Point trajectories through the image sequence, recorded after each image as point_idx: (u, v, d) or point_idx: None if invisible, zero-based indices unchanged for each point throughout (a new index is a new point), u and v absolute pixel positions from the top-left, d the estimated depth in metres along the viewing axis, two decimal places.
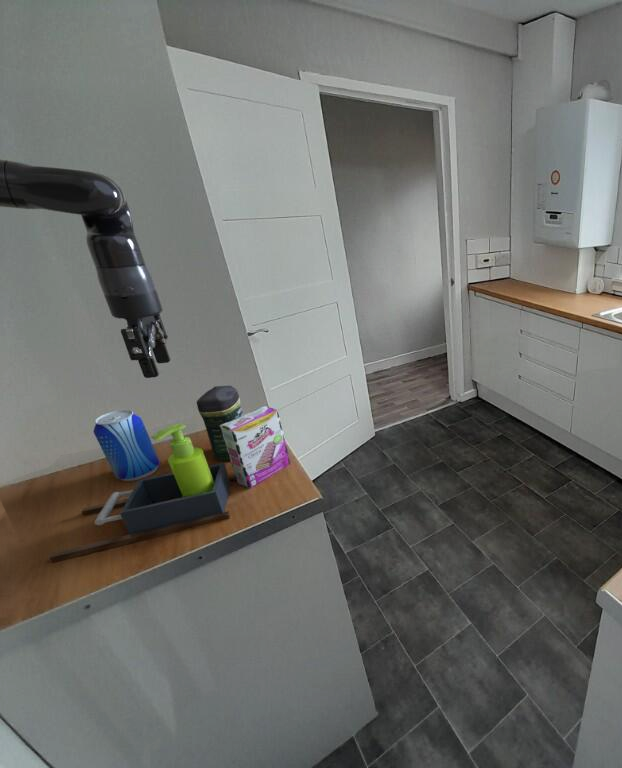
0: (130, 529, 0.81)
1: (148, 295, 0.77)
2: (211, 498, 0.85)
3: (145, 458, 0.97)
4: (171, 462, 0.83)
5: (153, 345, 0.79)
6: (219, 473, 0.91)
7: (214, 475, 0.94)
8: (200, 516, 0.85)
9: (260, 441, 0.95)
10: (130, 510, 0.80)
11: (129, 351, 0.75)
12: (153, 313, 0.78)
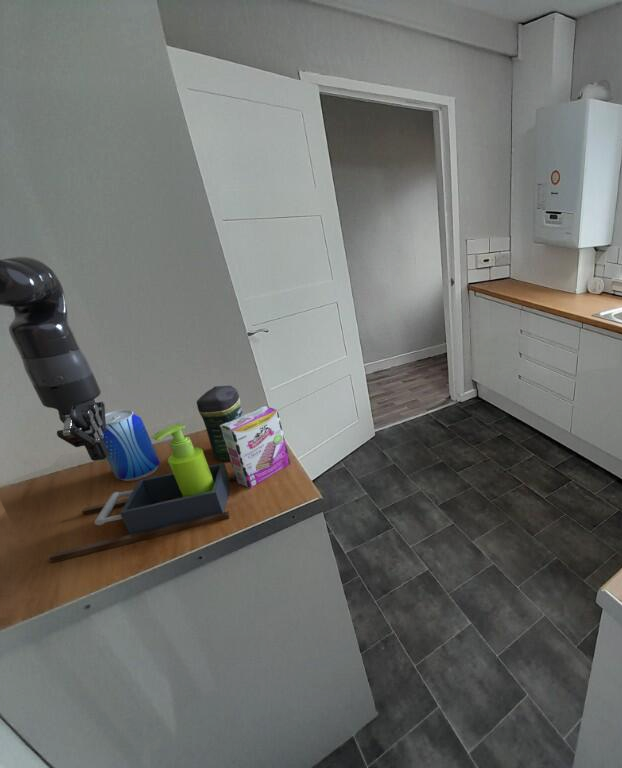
0: (130, 529, 0.81)
1: (82, 381, 0.72)
2: (211, 498, 0.85)
3: (145, 458, 0.97)
4: (171, 462, 0.83)
5: (96, 429, 0.76)
6: (219, 473, 0.91)
7: (214, 475, 0.94)
8: (200, 516, 0.85)
9: (260, 441, 0.95)
10: (130, 510, 0.80)
11: (73, 444, 0.73)
12: (89, 399, 0.73)
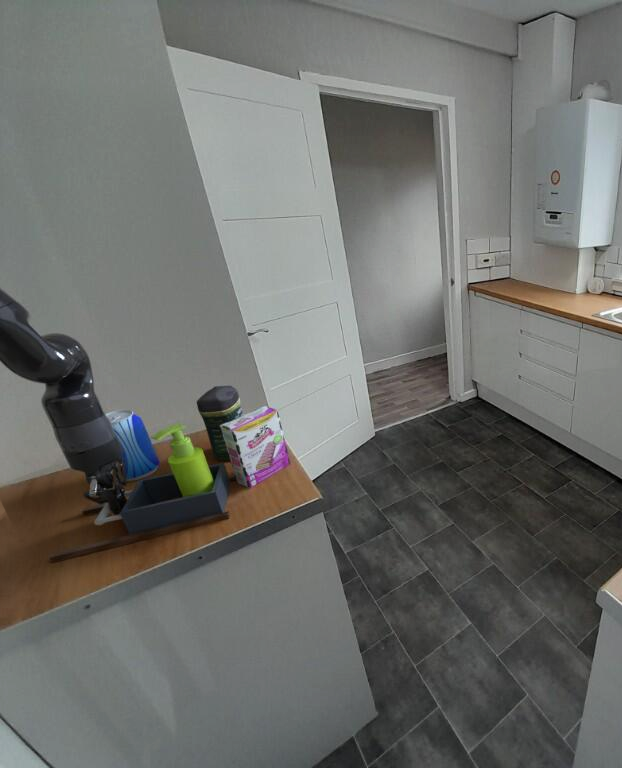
0: (130, 529, 0.81)
1: (106, 445, 0.77)
2: (211, 498, 0.85)
3: (145, 458, 0.97)
4: (171, 462, 0.83)
5: (119, 486, 0.81)
6: (219, 473, 0.91)
7: (214, 475, 0.94)
8: (200, 516, 0.85)
9: (260, 441, 0.95)
10: (130, 510, 0.80)
11: (97, 502, 0.78)
12: (113, 461, 0.78)
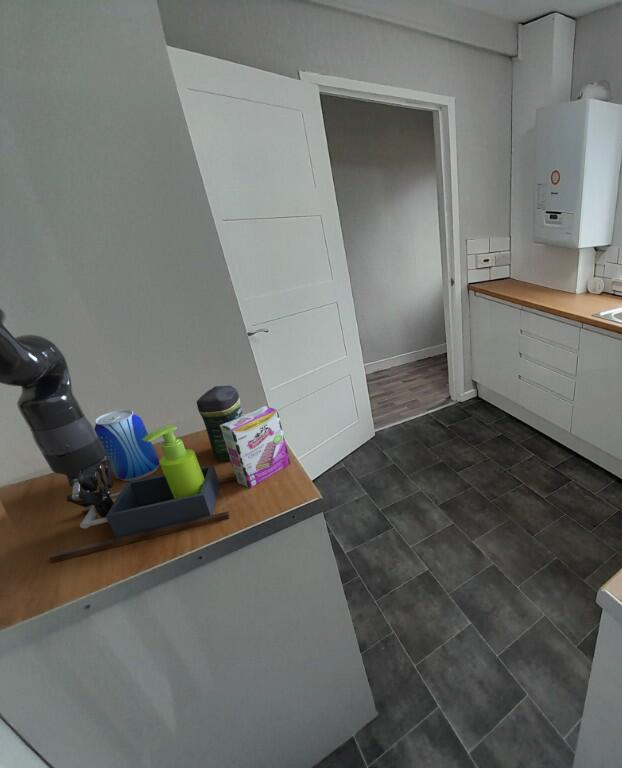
0: (116, 532, 0.80)
1: (87, 447, 0.76)
2: (199, 501, 0.84)
3: (145, 458, 0.97)
4: (163, 464, 0.82)
5: (103, 489, 0.80)
6: (208, 475, 0.90)
7: None
8: (188, 519, 0.85)
9: (260, 441, 0.95)
10: (116, 513, 0.79)
11: (82, 505, 0.77)
12: (95, 463, 0.77)
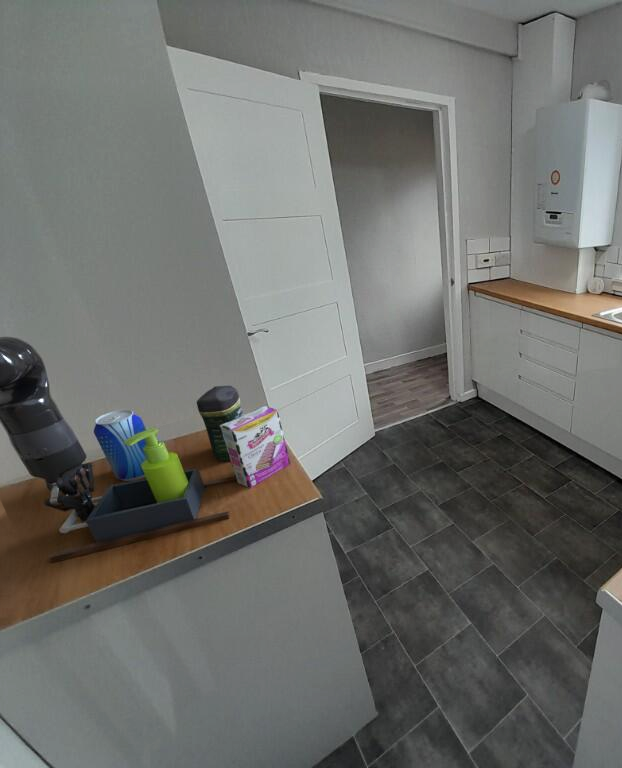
0: (97, 537, 0.79)
1: (66, 450, 0.75)
2: (181, 505, 0.83)
3: (145, 458, 0.97)
4: (145, 468, 0.81)
5: (84, 493, 0.79)
6: (192, 479, 0.89)
7: None
8: (170, 523, 0.83)
9: (260, 441, 0.95)
10: (96, 517, 0.78)
11: (61, 509, 0.76)
12: (74, 466, 0.76)
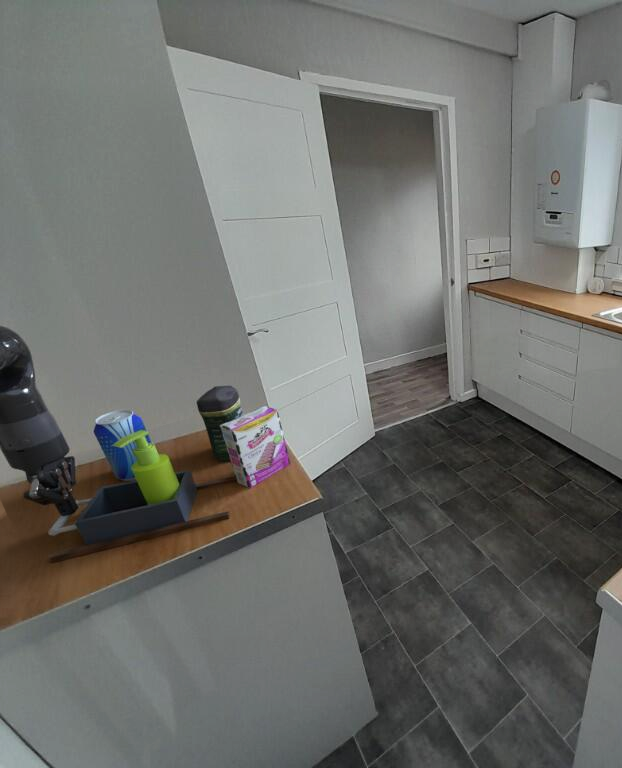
0: (86, 539, 0.78)
1: (49, 443, 0.73)
2: (172, 507, 0.82)
3: None
4: (135, 470, 0.80)
5: (65, 486, 0.77)
6: (183, 480, 0.88)
7: (179, 482, 0.91)
8: (161, 525, 0.83)
9: (260, 441, 0.95)
10: (86, 519, 0.77)
11: (40, 503, 0.74)
12: (57, 459, 0.74)
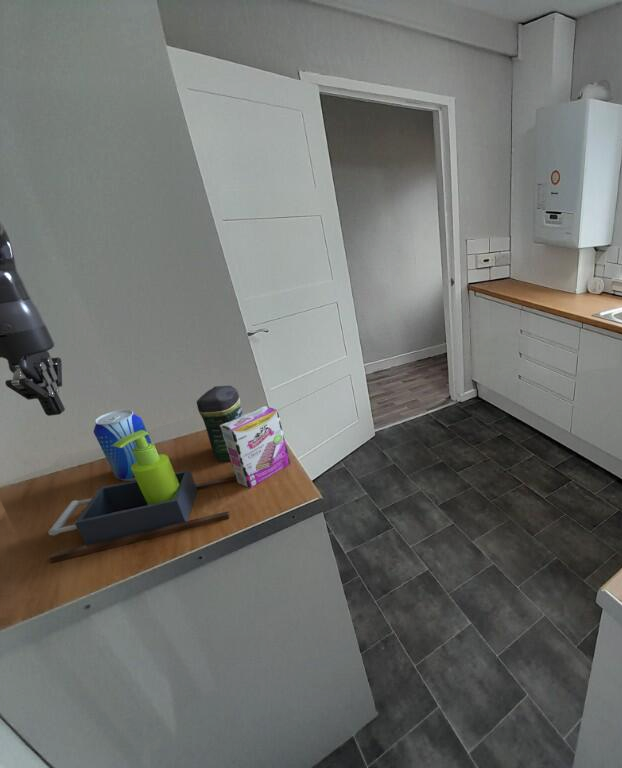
0: (86, 539, 0.78)
1: (32, 332, 0.71)
2: (172, 507, 0.82)
3: None
4: (135, 470, 0.80)
5: (50, 383, 0.76)
6: (183, 480, 0.88)
7: (179, 482, 0.91)
8: (161, 525, 0.83)
9: (260, 441, 0.95)
10: (86, 519, 0.77)
11: (24, 395, 0.72)
12: (40, 351, 0.72)
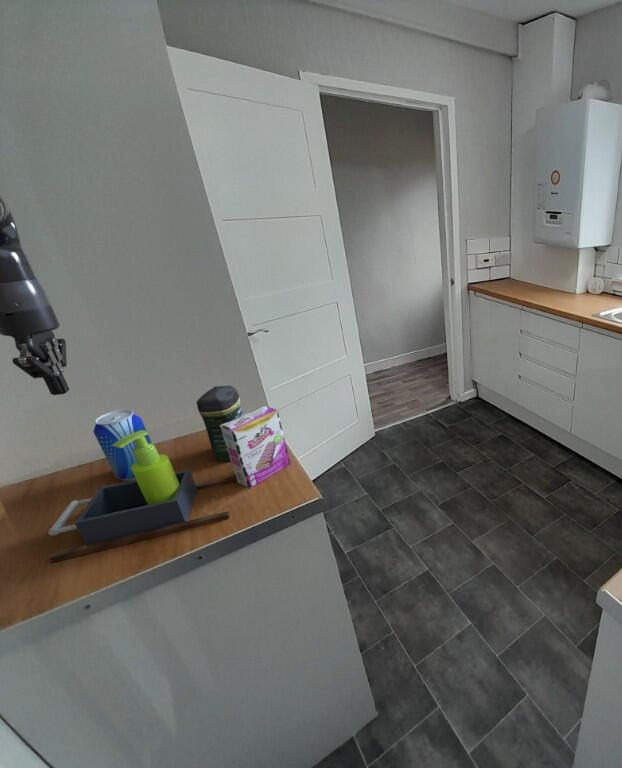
0: (86, 539, 0.78)
1: (38, 311, 0.73)
2: (172, 507, 0.82)
3: None
4: (135, 470, 0.80)
5: (55, 362, 0.77)
6: (183, 480, 0.88)
7: (179, 482, 0.91)
8: (161, 525, 0.83)
9: (260, 441, 0.95)
10: (86, 519, 0.77)
11: (30, 374, 0.74)
12: (46, 330, 0.74)
